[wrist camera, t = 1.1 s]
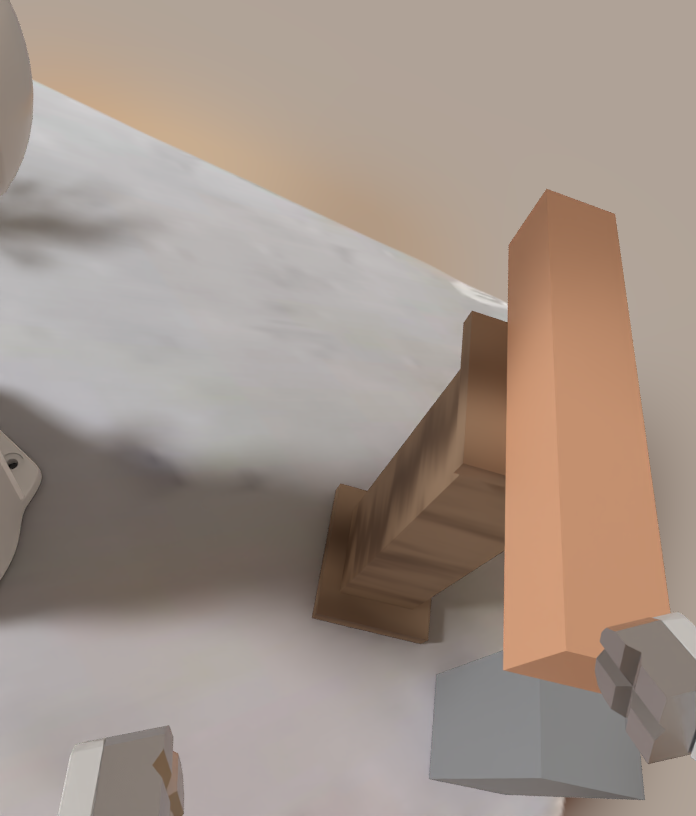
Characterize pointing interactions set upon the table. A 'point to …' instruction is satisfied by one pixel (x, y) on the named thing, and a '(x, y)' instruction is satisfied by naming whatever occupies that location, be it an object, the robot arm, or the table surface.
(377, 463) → the table surface
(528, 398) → the terracotta beam
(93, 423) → the table surface
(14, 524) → the robot arm
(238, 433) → the table surface
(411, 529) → the walnut tower
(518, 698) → the slate pillar
